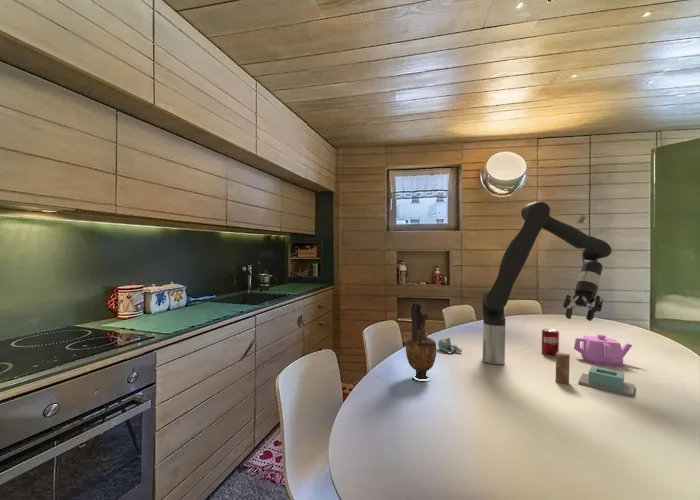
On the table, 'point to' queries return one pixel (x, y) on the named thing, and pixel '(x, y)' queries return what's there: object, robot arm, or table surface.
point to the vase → (420, 344)
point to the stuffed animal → (447, 345)
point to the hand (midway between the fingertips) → (578, 319)
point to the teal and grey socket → (607, 381)
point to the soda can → (550, 342)
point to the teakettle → (601, 350)
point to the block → (562, 368)
